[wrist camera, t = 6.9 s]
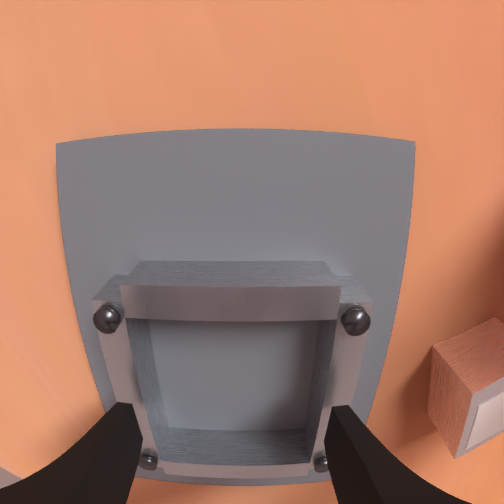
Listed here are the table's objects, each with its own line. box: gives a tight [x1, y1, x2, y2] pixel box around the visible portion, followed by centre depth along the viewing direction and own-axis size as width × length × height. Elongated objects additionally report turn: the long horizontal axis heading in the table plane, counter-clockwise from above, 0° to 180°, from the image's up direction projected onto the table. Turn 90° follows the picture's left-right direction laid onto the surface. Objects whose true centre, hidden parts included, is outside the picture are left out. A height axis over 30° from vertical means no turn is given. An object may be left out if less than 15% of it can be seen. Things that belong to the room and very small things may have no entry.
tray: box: [56, 129, 415, 486], centre depth 13 cm, size 14×20×4 cm
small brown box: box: [427, 317, 504, 459], centre depth 13 cm, size 5×6×4 cm
